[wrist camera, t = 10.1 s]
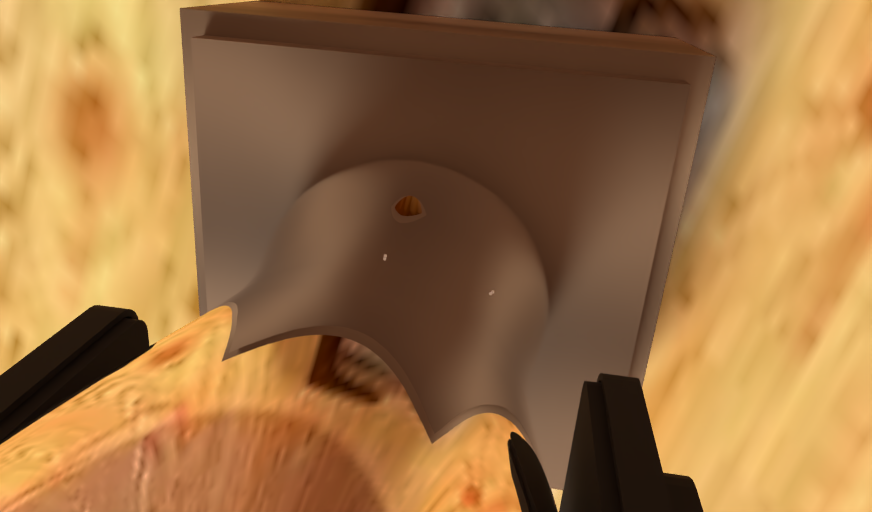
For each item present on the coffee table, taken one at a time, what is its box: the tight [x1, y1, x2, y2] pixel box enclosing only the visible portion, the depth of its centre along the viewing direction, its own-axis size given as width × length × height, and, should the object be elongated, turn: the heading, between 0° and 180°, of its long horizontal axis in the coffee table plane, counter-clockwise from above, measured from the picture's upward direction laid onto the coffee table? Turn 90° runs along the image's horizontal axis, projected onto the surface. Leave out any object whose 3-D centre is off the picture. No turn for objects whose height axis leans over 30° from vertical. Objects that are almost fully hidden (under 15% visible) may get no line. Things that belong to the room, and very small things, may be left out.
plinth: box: [180, 1, 716, 490], centre depth 18 cm, size 11×11×5 cm
